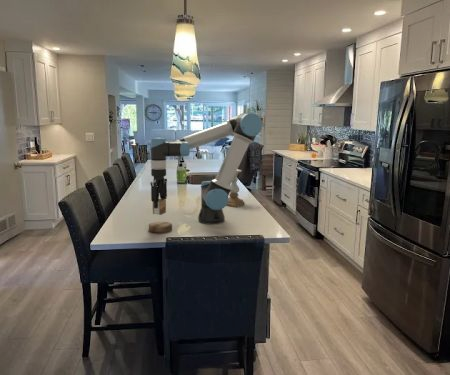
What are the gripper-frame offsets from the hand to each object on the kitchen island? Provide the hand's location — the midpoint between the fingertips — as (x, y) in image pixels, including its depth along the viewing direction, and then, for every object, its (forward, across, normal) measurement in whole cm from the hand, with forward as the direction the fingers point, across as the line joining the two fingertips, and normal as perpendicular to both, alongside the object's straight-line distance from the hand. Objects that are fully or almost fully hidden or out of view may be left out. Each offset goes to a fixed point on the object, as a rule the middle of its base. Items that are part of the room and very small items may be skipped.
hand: (159, 212), depth 193 cm
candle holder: (+9, -67, +20) cm, 71 cm away
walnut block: (0, 0, 0) cm, 0 cm away
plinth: (+10, 0, 0) cm, 10 cm away
